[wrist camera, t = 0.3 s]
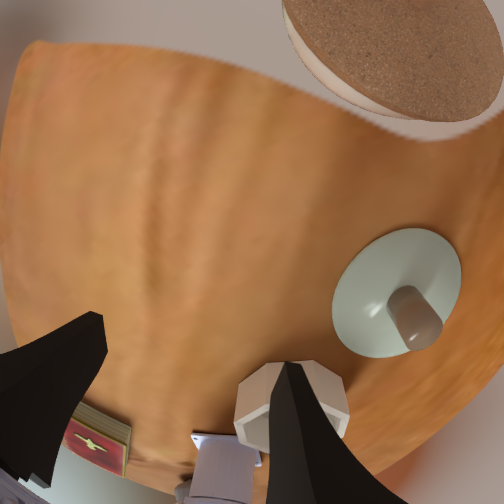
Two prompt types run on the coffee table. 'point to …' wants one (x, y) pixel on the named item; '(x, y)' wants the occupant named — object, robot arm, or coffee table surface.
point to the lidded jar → (401, 54)
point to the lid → (397, 293)
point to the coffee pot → (183, 490)
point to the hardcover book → (99, 439)
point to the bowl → (259, 392)
